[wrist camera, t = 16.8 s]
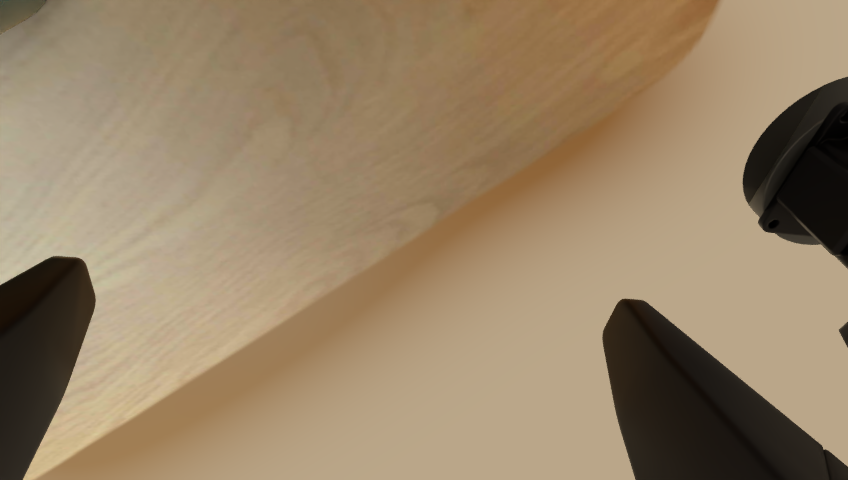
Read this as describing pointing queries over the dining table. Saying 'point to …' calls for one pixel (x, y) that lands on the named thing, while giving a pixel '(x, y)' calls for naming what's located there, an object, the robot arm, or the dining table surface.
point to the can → (17, 12)
